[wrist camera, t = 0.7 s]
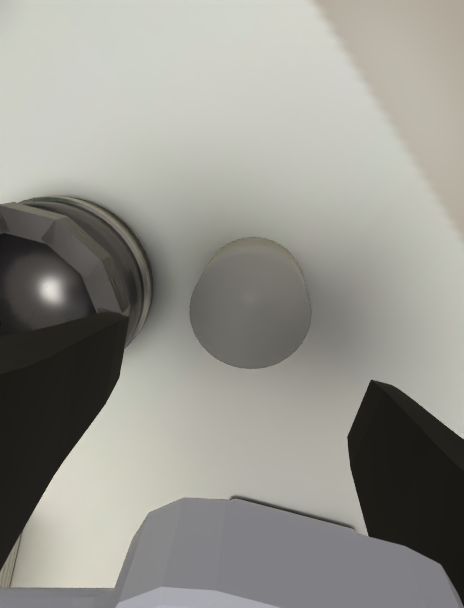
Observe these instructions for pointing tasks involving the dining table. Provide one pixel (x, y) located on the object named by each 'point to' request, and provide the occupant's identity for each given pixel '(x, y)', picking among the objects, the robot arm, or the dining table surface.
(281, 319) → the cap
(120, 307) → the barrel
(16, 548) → the supplement box
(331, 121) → the dining table surface
